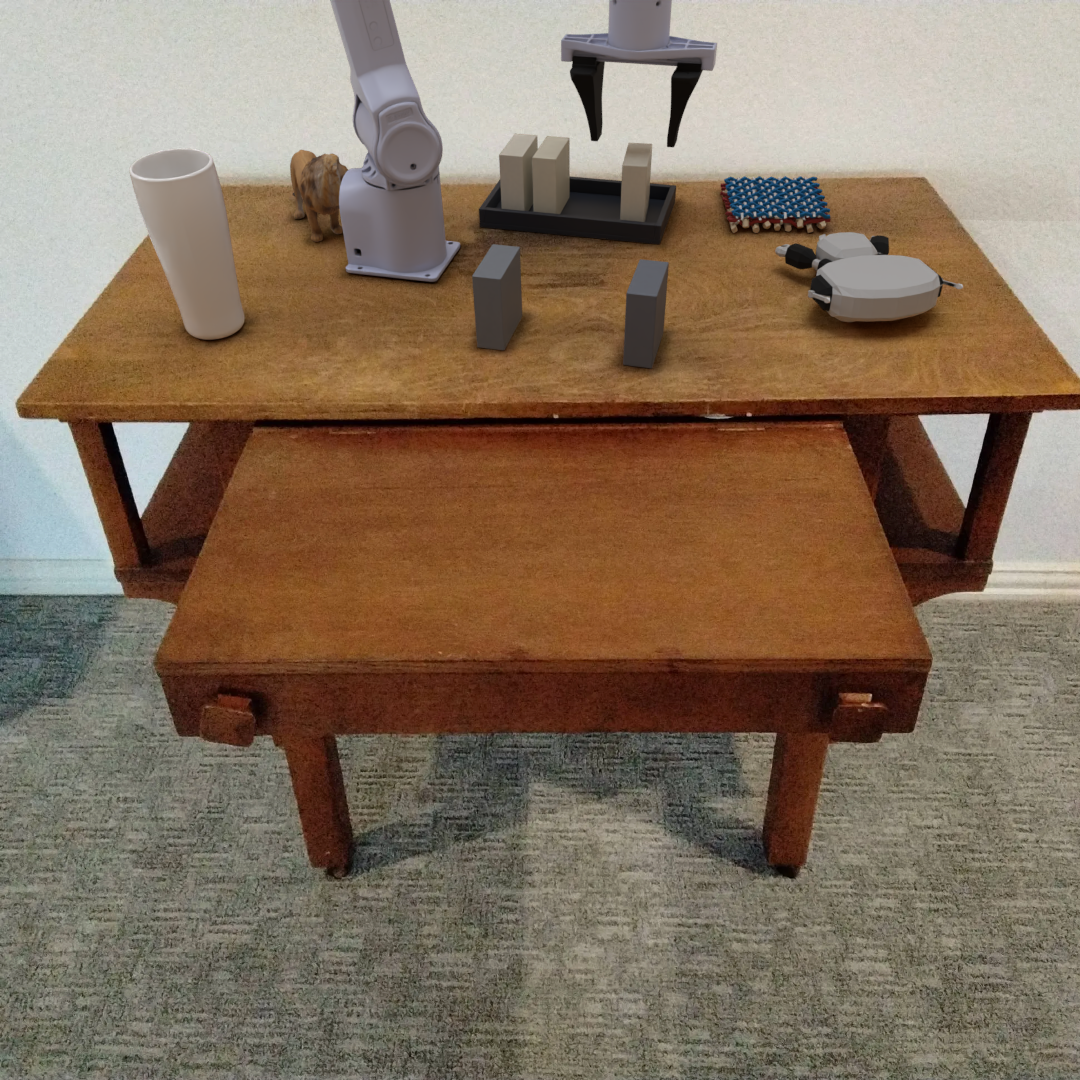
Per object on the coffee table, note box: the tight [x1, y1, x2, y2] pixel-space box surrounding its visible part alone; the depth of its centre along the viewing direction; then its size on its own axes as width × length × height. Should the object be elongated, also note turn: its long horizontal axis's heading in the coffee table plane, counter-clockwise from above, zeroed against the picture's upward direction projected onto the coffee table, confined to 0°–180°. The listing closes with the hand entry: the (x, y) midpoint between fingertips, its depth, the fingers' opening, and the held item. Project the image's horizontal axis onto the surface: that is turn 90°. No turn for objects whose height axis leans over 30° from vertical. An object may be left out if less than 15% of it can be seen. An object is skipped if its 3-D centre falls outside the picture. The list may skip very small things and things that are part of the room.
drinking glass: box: [128, 147, 246, 341], centre depth 83 cm, size 7×7×15 cm
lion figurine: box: [289, 149, 349, 243], centre depth 101 cm, size 15×5×9 cm, turn 33°
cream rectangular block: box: [620, 142, 653, 222], centre depth 101 cm, size 2×6×6 cm, turn 170°
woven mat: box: [719, 175, 832, 234], centre depth 103 cm, size 10×11×2 cm
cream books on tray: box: [498, 132, 571, 214], centre depth 103 cm, size 6×6×6 cm
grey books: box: [471, 243, 669, 369], centre depth 83 cm, size 16×6×7 cm, turn 75°
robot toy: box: [774, 231, 964, 323], centre depth 89 cm, size 12×4×15 cm
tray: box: [478, 176, 677, 245], centre depth 104 cm, size 19×10×2 cm, turn 75°
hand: (633, 140), depth 97 cm, fingers open, 7 cm apart
